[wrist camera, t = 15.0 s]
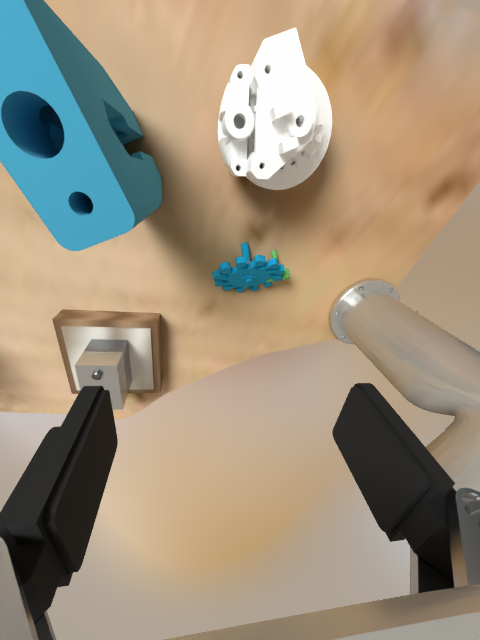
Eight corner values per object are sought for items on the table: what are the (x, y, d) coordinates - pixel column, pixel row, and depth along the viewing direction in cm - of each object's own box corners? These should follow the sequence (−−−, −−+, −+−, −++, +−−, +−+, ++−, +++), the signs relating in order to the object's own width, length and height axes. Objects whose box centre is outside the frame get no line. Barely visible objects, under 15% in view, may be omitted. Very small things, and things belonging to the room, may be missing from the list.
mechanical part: (305, 189, 35) (350, 194, 24) (216, 186, 33) (224, 192, 23) (320, 78, 29) (386, 25, 19) (214, 69, 27) (224, 6, 17)
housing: (127, 339, 38) (115, 367, 33) (132, 380, 42) (122, 411, 37) (91, 339, 37) (73, 367, 32) (99, 380, 41) (83, 412, 36)
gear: (207, 295, 38) (222, 263, 29) (204, 259, 40) (218, 219, 31) (274, 296, 42) (306, 268, 33) (269, 263, 43) (299, 227, 34)
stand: (160, 313, 41) (157, 323, 38) (162, 380, 47) (160, 393, 44) (62, 309, 38) (51, 320, 35) (79, 380, 45) (71, 394, 42)
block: (76, 99, 27) (-137, -34, 10) (119, 81, 27) (-22, -87, 10) (135, 213, 33) (67, 255, 16) (171, 200, 33) (141, 227, 16)
